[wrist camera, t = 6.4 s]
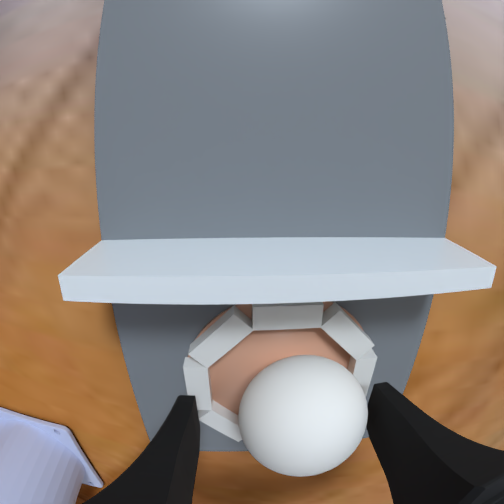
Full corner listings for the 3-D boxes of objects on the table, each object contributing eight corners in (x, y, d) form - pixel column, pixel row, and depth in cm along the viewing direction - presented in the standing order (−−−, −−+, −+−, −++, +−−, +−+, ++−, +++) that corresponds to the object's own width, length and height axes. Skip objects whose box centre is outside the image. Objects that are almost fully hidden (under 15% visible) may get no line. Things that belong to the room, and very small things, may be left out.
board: (154, 437, 16) (143, 494, 12) (117, -26, 8) (79, -75, 4) (381, 424, 16) (404, 475, 12) (431, -4, 9) (484, -34, 5)
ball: (228, 426, 13) (261, 511, 9) (220, 343, 12) (262, 443, 7) (323, 401, 15) (374, 470, 10) (335, 320, 13) (409, 390, 8)
